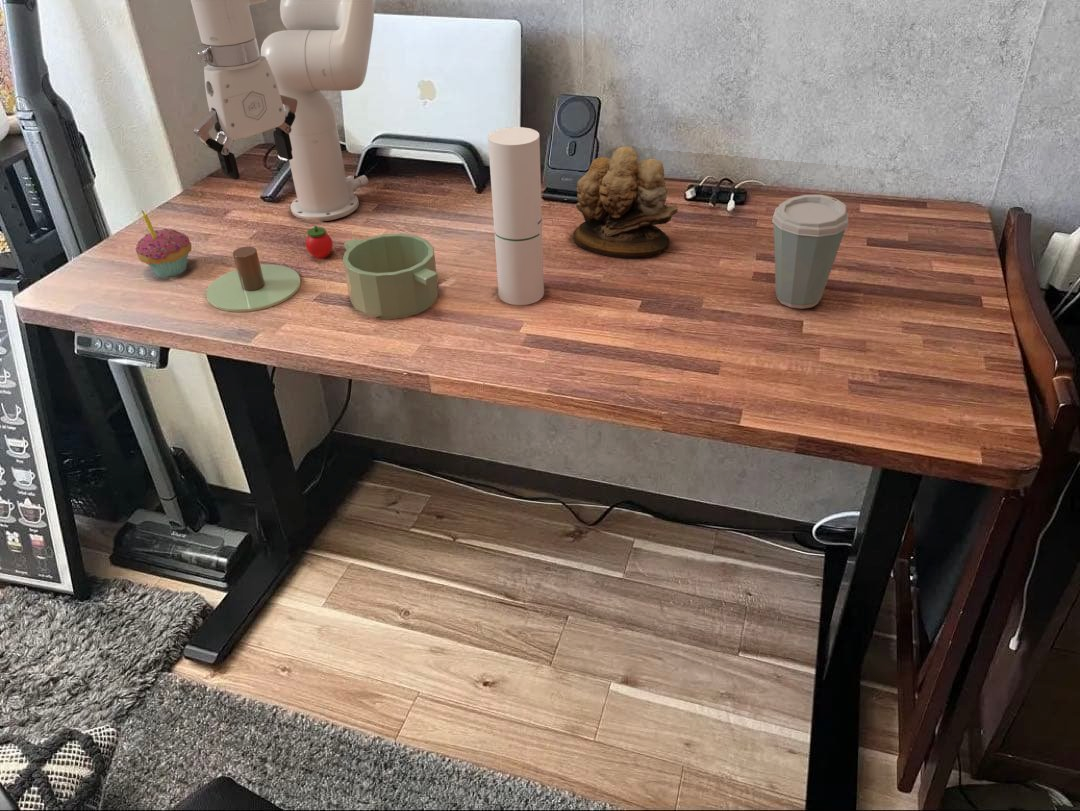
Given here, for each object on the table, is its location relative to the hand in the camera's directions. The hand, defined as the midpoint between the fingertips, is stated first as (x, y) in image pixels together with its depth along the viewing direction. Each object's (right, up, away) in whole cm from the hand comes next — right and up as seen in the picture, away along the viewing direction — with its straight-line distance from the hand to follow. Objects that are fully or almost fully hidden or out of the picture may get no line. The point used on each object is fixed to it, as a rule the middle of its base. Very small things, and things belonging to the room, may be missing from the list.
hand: (259, 167), depth 132 cm
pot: (+21, -20, +1) cm, 29 cm away
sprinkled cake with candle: (-18, -15, +10) cm, 25 cm away
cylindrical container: (+41, -20, +1) cm, 45 cm away
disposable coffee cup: (+83, -21, -3) cm, 86 cm away
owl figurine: (+58, -9, +14) cm, 60 cm away
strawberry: (+7, -12, +12) cm, 18 cm away
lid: (-2, -19, +3) cm, 19 cm away
